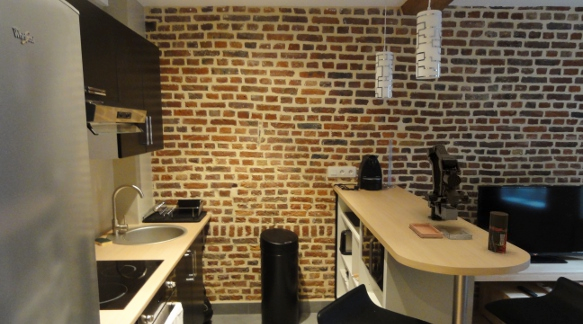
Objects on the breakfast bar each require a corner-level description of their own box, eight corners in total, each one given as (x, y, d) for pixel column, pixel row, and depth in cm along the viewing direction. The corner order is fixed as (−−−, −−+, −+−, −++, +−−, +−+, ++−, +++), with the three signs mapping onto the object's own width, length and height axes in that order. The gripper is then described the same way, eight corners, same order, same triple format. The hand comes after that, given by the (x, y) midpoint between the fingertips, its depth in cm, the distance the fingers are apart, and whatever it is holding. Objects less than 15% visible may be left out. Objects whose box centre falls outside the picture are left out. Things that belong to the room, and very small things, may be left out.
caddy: (435, 213, 147) (435, 203, 146) (446, 213, 146) (446, 203, 146) (445, 220, 136) (446, 209, 135) (457, 220, 135) (457, 209, 135)
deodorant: (498, 253, 112) (500, 216, 111) (484, 248, 118) (486, 212, 116) (509, 252, 114) (512, 214, 112) (495, 246, 119) (497, 210, 118)
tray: (409, 227, 144) (409, 223, 144) (428, 227, 144) (428, 223, 144) (421, 238, 129) (421, 233, 129) (442, 238, 129) (443, 233, 129)
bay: (441, 232, 136) (441, 228, 135) (462, 233, 135) (462, 229, 135) (449, 239, 128) (450, 234, 128) (472, 239, 127) (472, 234, 127)
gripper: (434, 186, 132) (433, 219, 134) (476, 186, 131) (474, 219, 133) (424, 181, 143) (423, 212, 145) (463, 181, 142) (461, 212, 144)
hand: (445, 214), depth 141 cm, fingers closed on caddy, 5 cm apart
